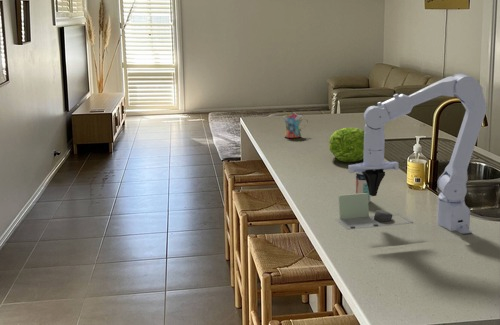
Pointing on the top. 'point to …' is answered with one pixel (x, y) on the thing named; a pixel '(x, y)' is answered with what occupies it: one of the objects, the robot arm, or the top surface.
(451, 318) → the top surface
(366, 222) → the grey ball tray
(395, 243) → the top surface
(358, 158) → the lettuce
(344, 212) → the cover
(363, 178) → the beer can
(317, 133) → the top surface
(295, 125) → the mug
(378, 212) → the dark grey pebble
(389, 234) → the top surface
